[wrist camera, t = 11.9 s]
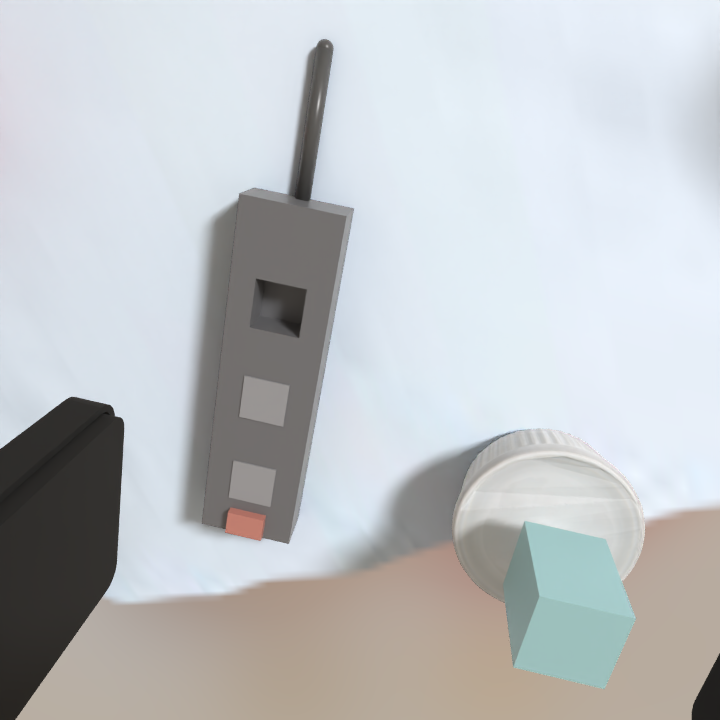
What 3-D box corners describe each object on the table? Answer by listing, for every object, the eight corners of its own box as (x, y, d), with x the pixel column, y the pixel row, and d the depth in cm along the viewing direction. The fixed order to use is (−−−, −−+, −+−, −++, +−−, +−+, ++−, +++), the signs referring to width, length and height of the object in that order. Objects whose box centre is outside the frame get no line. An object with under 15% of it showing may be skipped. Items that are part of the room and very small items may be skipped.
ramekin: (560, 379, 40) (576, 416, 35) (657, 506, 42) (685, 557, 37) (417, 471, 44) (413, 516, 39) (513, 583, 46) (522, 639, 41)
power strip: (273, 29, 35) (255, 20, 32) (382, 51, 35) (375, 44, 31) (216, 498, 46) (198, 528, 43) (298, 517, 46) (286, 549, 43)
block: (520, 500, 37) (539, 596, 30) (597, 517, 37) (635, 618, 30) (500, 562, 39) (513, 667, 32) (573, 579, 39) (604, 689, 32)
